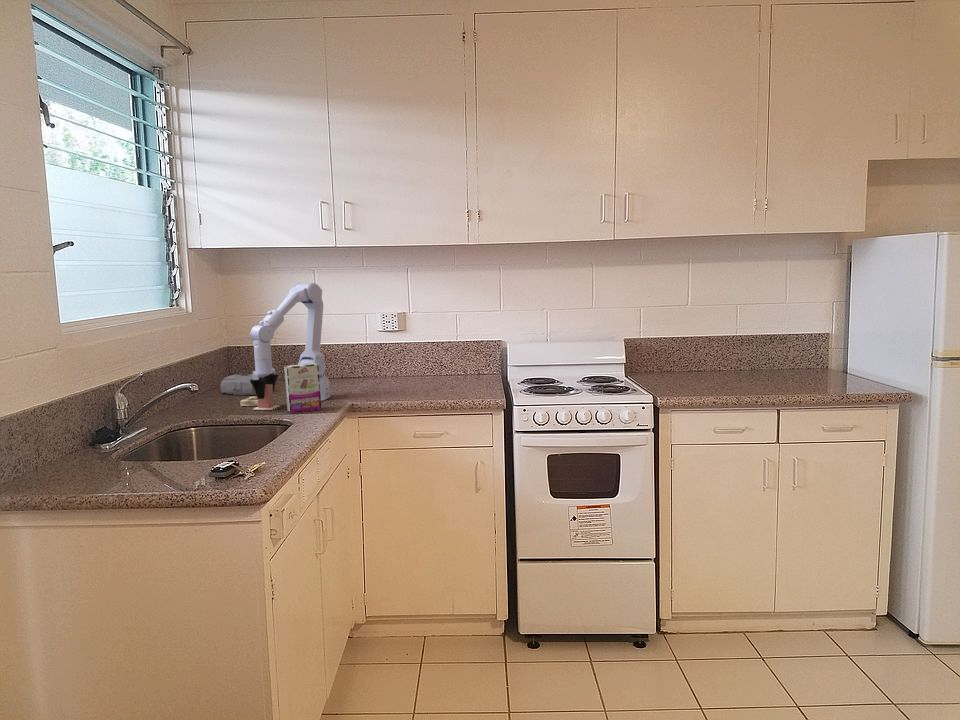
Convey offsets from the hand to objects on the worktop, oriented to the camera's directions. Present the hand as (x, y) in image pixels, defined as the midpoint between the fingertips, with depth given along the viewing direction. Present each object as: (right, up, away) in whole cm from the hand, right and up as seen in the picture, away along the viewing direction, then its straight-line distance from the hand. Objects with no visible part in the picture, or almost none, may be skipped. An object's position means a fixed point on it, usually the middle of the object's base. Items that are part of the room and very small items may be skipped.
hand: (265, 396), depth 258 cm
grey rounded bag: (-20, -1, +36) cm, 41 cm away
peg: (0, -4, 0) cm, 4 cm away
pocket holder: (-6, -3, +9) cm, 11 cm away
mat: (0, -4, +1) cm, 4 cm away
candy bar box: (+15, -5, -5) cm, 17 cm away
